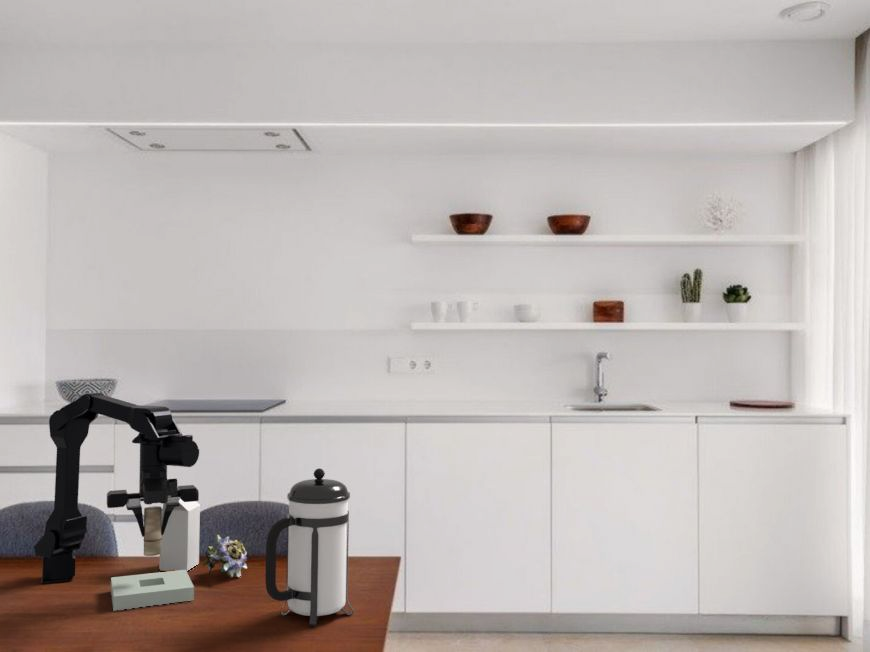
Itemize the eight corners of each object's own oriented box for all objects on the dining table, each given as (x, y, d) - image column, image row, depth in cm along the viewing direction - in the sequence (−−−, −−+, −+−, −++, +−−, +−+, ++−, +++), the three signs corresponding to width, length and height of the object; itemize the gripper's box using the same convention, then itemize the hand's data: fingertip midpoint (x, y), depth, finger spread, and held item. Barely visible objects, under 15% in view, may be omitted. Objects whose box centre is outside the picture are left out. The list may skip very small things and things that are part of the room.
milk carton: (199, 565, 192) (200, 488, 193) (187, 573, 185) (188, 494, 186) (171, 564, 193) (173, 488, 193) (158, 572, 186) (160, 493, 186)
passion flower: (236, 600, 182) (233, 568, 175) (193, 589, 183) (189, 557, 177) (255, 563, 191) (253, 531, 184) (215, 553, 193) (211, 520, 186)
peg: (144, 556, 166) (144, 510, 167) (142, 552, 170) (143, 507, 170) (162, 554, 168) (162, 508, 168) (160, 550, 171) (161, 505, 171)
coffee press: (284, 601, 166) (286, 462, 167) (357, 603, 165) (359, 463, 166) (263, 631, 149) (266, 475, 149) (345, 633, 148) (348, 477, 149)
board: (113, 611, 159) (113, 596, 159) (110, 591, 171) (111, 577, 171) (193, 601, 165) (194, 587, 165) (185, 582, 178) (185, 569, 178)
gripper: (109, 472, 158) (107, 548, 158) (202, 466, 166) (201, 539, 165) (107, 464, 168) (105, 536, 168) (195, 459, 176) (194, 528, 176)
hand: (152, 535), depth 169 cm, fingers closed on peg, 4 cm apart
